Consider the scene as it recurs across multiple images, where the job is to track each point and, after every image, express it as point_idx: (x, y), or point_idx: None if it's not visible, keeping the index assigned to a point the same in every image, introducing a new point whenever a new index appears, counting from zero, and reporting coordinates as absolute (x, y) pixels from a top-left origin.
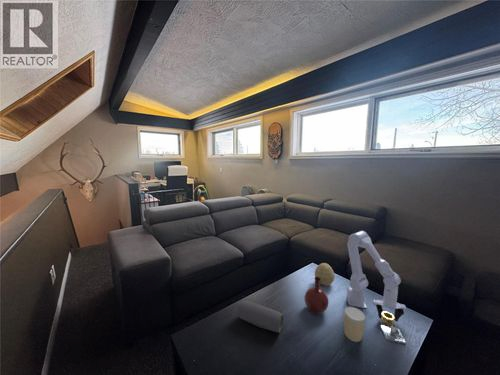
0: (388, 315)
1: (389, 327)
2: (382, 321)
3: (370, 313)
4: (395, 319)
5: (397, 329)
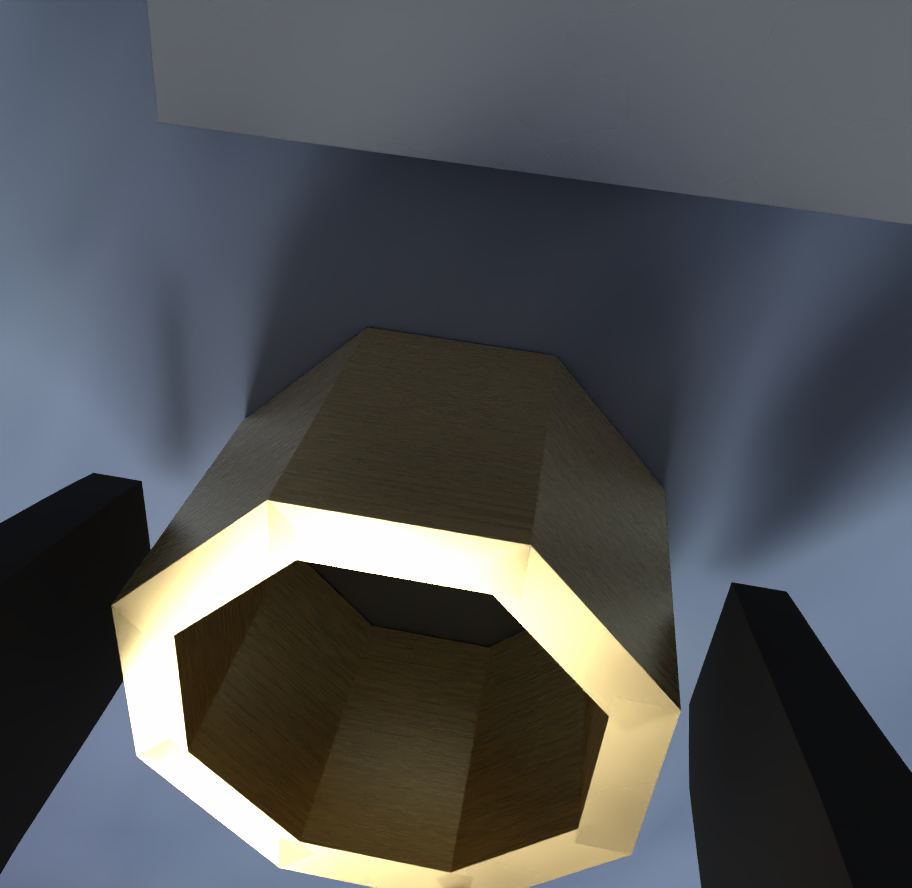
0: (320, 726)
1: (591, 124)
2: (664, 496)
3: None
4: (110, 560)
5: (217, 37)
